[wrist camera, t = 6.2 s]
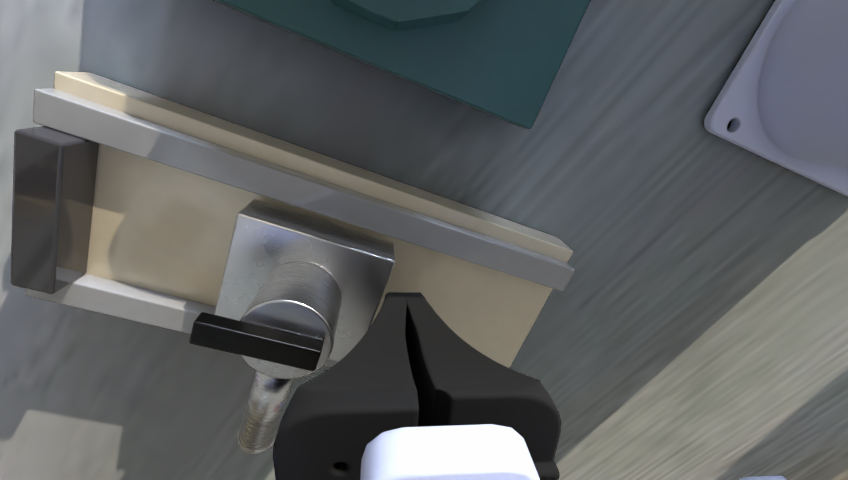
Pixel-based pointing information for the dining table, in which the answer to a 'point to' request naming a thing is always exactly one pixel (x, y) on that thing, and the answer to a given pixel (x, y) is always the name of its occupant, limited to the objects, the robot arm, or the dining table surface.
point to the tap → (291, 304)
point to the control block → (444, 43)
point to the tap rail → (217, 210)
